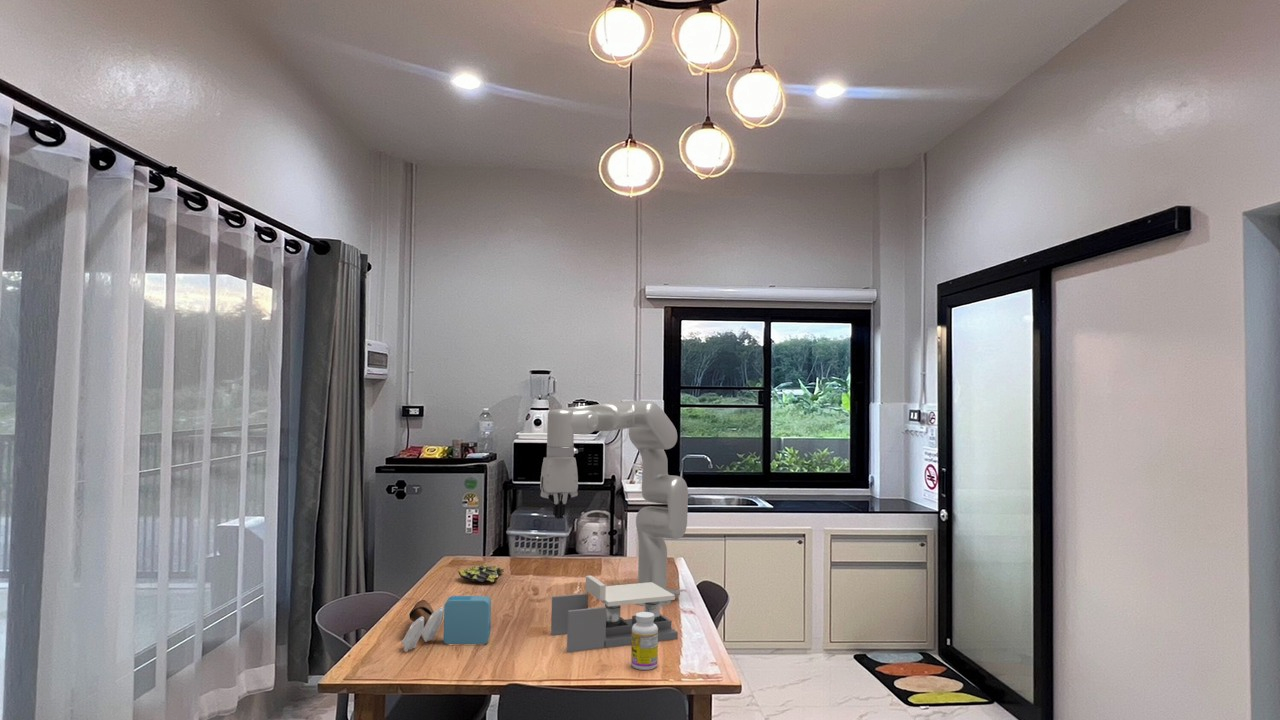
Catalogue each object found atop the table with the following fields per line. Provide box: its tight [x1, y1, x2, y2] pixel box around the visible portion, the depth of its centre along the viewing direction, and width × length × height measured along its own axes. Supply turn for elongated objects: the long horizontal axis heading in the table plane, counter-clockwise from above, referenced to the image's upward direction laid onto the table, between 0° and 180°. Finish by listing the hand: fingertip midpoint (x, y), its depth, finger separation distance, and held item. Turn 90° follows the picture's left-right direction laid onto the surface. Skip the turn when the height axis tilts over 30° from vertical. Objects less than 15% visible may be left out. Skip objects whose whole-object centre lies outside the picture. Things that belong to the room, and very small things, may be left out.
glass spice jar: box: [604, 604, 622, 628], centre depth 209 cm, size 4×4×8 cm
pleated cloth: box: [457, 563, 505, 583], centre depth 277 cm, size 20×16×7 cm
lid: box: [585, 575, 676, 606], centre depth 212 cm, size 22×16×5 cm
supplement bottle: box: [630, 611, 659, 671], centre depth 187 cm, size 7×7×13 cm
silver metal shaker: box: [643, 601, 661, 622], centre depth 214 cm, size 4×4×8 cm
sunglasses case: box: [408, 599, 435, 627], centre depth 213 cm, size 18×7×7 cm, turn 12°
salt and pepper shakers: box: [401, 606, 444, 652], centre depth 199 cm, size 12×4×11 cm
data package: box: [442, 595, 492, 646], centre depth 203 cm, size 12×4×12 cm, turn 93°
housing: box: [550, 592, 679, 654], centre depth 210 cm, size 32×16×11 cm, turn 113°
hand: (558, 517), depth 211 cm, fingers closed
